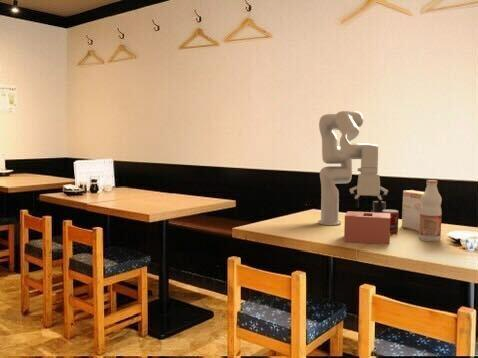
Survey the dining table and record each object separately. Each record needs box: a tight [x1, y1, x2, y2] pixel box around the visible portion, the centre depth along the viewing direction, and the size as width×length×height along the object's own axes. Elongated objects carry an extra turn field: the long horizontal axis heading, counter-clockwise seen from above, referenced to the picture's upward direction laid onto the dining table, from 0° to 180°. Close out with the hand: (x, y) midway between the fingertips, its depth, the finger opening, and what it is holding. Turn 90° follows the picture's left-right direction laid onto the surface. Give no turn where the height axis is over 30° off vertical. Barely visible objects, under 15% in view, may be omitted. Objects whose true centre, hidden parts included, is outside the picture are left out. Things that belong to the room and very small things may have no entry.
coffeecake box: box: [401, 189, 425, 232], centre depth 253 cm, size 15×7×20 cm, turn 18°
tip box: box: [343, 210, 391, 246], centre depth 226 cm, size 14×20×12 cm
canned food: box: [383, 209, 399, 235], centre depth 244 cm, size 8×8×11 cm
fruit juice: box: [418, 179, 443, 242], centre depth 227 cm, size 9×9×28 cm
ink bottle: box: [370, 200, 387, 213], centre depth 269 cm, size 10×9×12 cm
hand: (368, 207), depth 226 cm, fingers open, 9 cm apart
